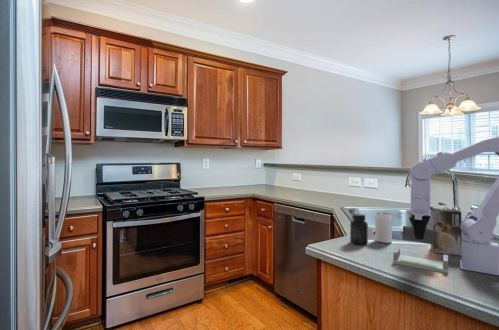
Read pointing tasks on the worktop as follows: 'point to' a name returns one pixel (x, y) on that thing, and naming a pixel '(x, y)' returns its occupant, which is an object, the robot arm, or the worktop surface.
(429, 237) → the cell
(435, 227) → the coffee box
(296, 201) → the worktop surface
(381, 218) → the can
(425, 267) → the holder
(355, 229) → the supplement bottle
